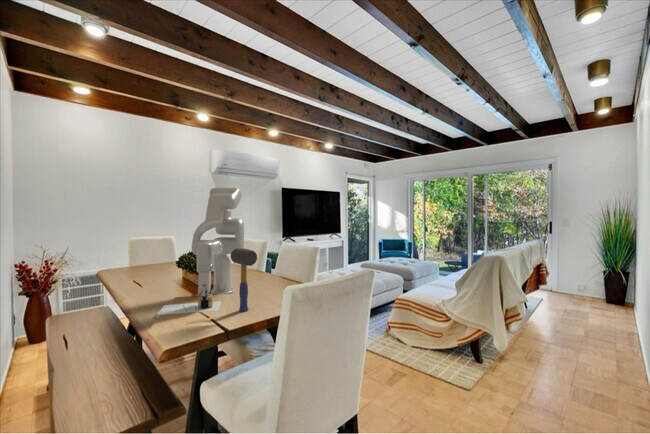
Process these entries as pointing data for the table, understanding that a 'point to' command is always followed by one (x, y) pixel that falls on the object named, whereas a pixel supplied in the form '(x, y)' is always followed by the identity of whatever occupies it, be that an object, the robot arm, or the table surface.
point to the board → (186, 308)
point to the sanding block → (210, 300)
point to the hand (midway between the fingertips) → (205, 305)
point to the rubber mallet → (243, 272)
